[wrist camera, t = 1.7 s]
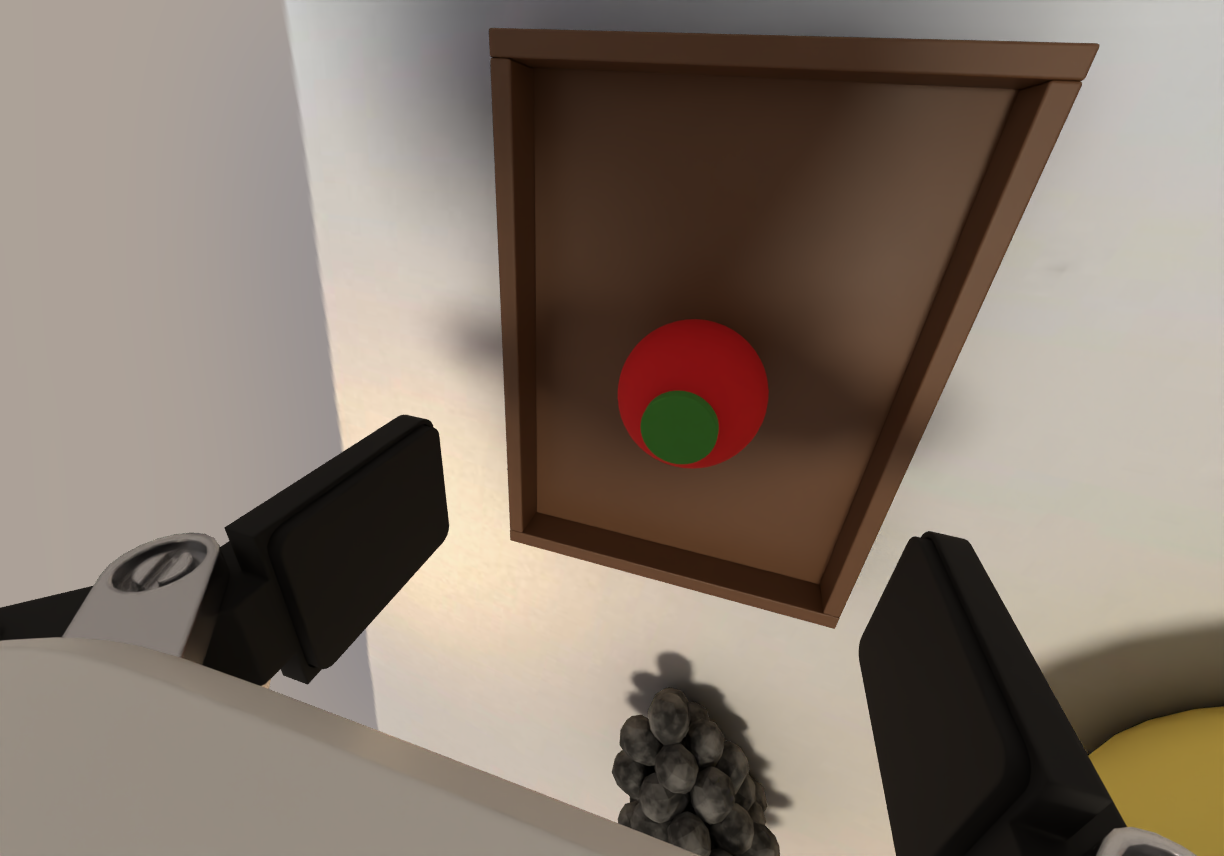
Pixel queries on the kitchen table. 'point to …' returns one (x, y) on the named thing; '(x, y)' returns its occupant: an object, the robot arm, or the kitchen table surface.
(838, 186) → the serving tray
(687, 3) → the kitchen table surface
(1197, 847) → the vase
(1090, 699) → the kitchen table surface
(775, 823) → the kitchen table surface
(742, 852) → the fruit
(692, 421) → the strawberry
